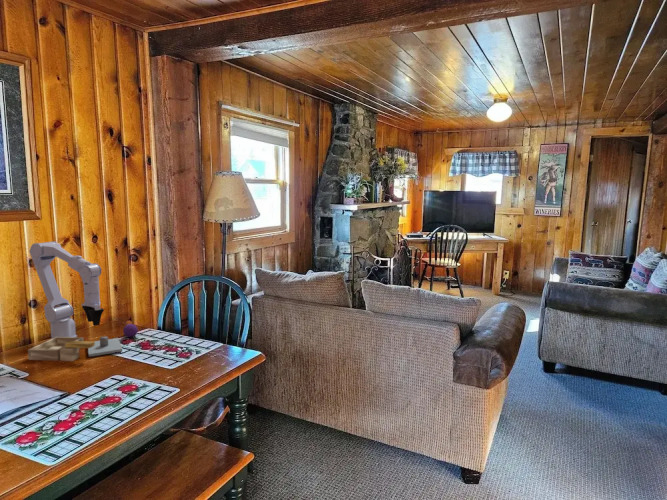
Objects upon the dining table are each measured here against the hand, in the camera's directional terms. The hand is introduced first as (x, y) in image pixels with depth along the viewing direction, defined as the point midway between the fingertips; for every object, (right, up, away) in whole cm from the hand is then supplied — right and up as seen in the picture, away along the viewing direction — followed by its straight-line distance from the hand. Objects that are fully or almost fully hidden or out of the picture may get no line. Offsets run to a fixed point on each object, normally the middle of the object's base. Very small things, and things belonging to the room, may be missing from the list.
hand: (93, 323), depth 185 cm
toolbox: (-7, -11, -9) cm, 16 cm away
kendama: (+7, -8, +18) cm, 21 cm away
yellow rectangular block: (+4, -6, -17) cm, 18 cm away
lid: (+7, -11, -5) cm, 13 cm away
